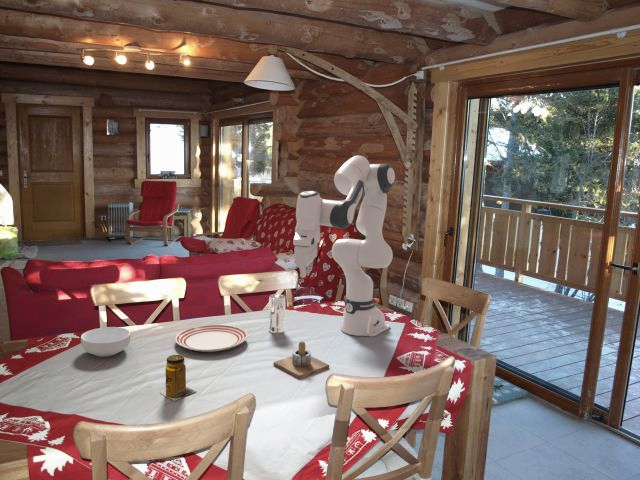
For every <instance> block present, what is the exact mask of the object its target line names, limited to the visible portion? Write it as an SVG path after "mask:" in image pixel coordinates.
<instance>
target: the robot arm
mask: <svg viewBox="0 0 640 480" xmlns="http://www.w3.org/2000/svg"><path fill="white" fill-rule="evenodd" d="M333 178H334V179H333V180H334V181H333V182H334V185H335V188H336V189H337V190H338V191H339V193H341V194H343V195H345V196H347V197H346V198H345V199H343V200H334V199H326V198H325V199H324V198H322V197H321V195H320V193H319V192H318V191H317V190H306V191H302V192H300V193H299V194H298V196H297V199H296V206H295V207H296V208H295V209H296V210H295V218H296V225H295V231H294V237H293V241H292V244H293V245H294V264H295V267H296V268H299V275H300V278H302V279H305V278H306V277H307V272H312V270H313V264H314V260H315V259H316V258H317V256H318V243H320V240H321V226H325V227H332V228H336V229H341V230H345V229H347V228H348V227H350V226H351V225H352V224H353V221H354V218H355V215H356V212H357V209H358V207H359V205H360V207H359V210H358V213H357V214H358V215H357V218H356V222H355V227H356V229H357V230H358V232H359V233H361V234H362V235H363V236H365V239H358V238H357V239H355V238H348V237H347V238H339V239H337V240H335V241H334V243H333V245H332V247H331V255H332V256H331V257H332V258H333V260H334V261H335V262H336V263H337V264H338V265H339V266H340V268H341V269H342V272H343V274H344V276H345V282H346V287H345V288H346V292H345V293H346V295H345V296H344V297H345V298H344V309H343V314H342V315H343V316H342V321H341V322H340V325H341V326H340V331H341V332H343V333H345V334H347V335H351V336H357V337H362V336H363V337H365V336H366V337H376V336H378V335H380V334H382V333H383V332H385V331H387V330H389V329H390V328H391V325H390V324H389V323H388V322H386V317H385V314H384V313H383V312H382V311H381V310H380V309H379V308H378V307H376V305H375V303H376V304H379V302H380V299H379V298H376V297H373V293H374V281H373V279H372V277H371V276H370V275H368V274H366V272H365V271H363V268H371V269H384V268H387V267H389V266H390V264H391V263H392V261H393V256H394V253H393V250H392V247H391V246H390V245H389V244H388V242H386V241H385V239H384V236H383V226H384V222H385V221H384V220H385V217H386V211H387V205H388V196H387V193H389V192H390V190H391V189H392V188H393V185H394V184H395V181H396V171H395V169H394V167H393V166H392V165H391V164H388V163H371V164H370V162H369V160H368V159H367V158H366V157H365V156H363V155H360V154H359V155H354V156H352V157H350V158H349V159H348V160H347V161H345V162H344V163H343V164H342V165H341V166H339V168H338V169H337V171H335V174H334V177H333ZM362 198H363V199H362ZM360 203H361V204H360Z"/></svg>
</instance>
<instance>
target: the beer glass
mask: <svg viewBox="0 0 640 480" xmlns="http://www.w3.org/2000/svg"><path fill="white" fill-rule="evenodd" d="M268 313H269V321H270V325H269V330H268V332H269V333H271V334H282V333H284V330H285V329H284V320H285V319H284V318H285V314H286V295H285V294H280V293H274V294H270V295H269V298H268Z"/></svg>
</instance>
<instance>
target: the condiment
mask: <svg viewBox="0 0 640 480" xmlns="http://www.w3.org/2000/svg"><path fill="white" fill-rule="evenodd" d="M186 368H187V367H186V364H185V357H184V355H181V354H171V355H169V356H168V357H167V358H166V365H165V369H164V370H165V390H164V391H163V392H160V394H161V395H163V396H164V397H165V398H168V399H169V400H172V401H173V402H175V401H177V400H180V399H183V398H185V397H187V396H189V395H192V394H194V393H196V392H197V390H194V389H192V388H190V387H189V386H187V380H186V378H187V377H186V375H187V374H186V371H187V370H186Z"/></svg>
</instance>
